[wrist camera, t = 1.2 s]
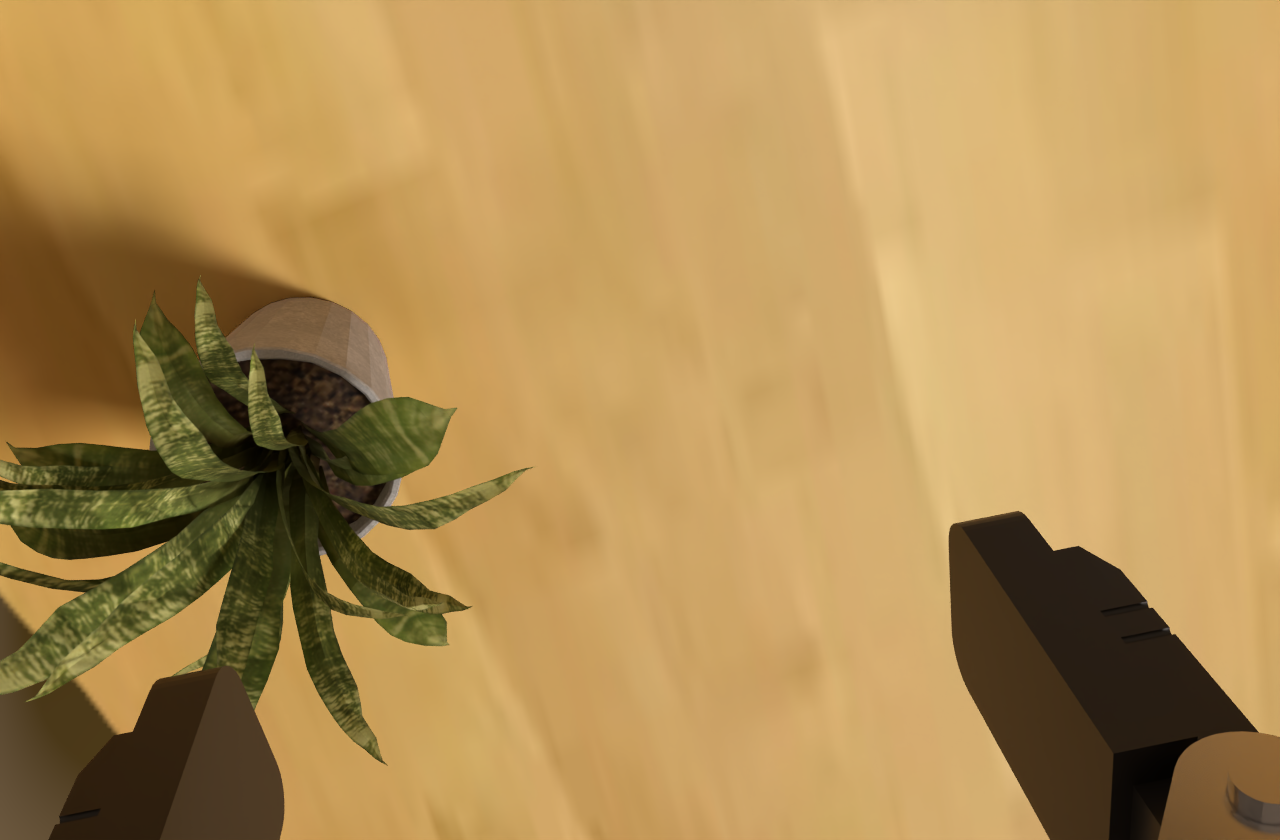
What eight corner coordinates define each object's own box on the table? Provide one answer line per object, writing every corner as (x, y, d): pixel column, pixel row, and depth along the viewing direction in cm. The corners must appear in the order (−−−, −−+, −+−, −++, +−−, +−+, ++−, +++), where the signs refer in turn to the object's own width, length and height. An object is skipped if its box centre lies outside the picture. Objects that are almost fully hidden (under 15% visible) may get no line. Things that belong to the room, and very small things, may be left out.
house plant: (340, 25, 33) (221, 177, 18) (619, 359, 39) (693, 668, 24) (3, 309, 35) (-330, 633, 21) (313, 579, 42) (218, 973, 27)
